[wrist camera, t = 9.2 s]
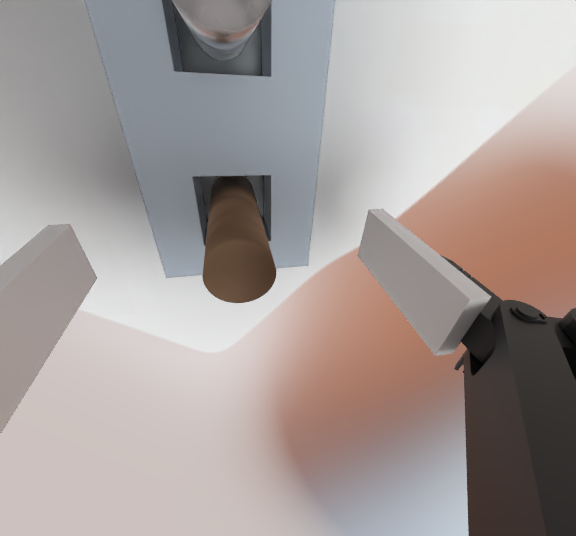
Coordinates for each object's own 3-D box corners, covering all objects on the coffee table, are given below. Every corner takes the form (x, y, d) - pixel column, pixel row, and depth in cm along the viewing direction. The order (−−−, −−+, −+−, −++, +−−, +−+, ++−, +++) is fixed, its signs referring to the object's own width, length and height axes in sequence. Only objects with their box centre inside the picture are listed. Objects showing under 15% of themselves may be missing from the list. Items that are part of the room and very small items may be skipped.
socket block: (72, -149, 10) (13, -240, 7) (320, -101, 12) (351, -158, 9) (174, 251, 20) (166, 277, 17) (297, 242, 22) (307, 265, 19)
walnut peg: (214, 214, 19) (209, 306, 11) (207, 173, 17) (196, 248, 10) (254, 211, 20) (276, 298, 12) (252, 171, 18) (275, 241, 10)
